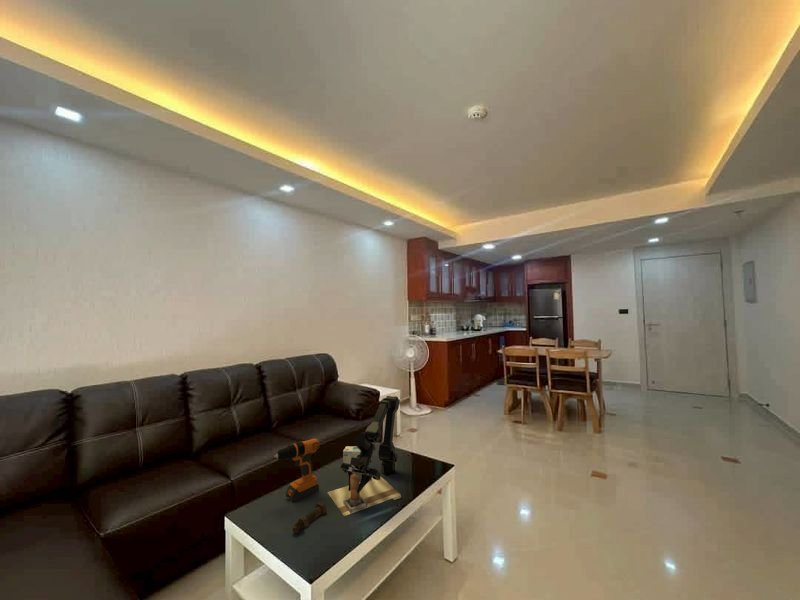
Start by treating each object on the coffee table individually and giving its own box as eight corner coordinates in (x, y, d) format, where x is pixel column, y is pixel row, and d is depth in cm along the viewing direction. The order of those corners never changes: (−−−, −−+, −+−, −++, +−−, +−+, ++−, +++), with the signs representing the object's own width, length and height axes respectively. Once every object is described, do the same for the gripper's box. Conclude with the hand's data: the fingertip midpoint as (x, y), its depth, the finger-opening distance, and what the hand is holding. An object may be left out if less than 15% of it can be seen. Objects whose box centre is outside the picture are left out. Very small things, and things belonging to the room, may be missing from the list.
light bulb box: (364, 465, 183) (364, 446, 183) (362, 471, 176) (362, 451, 176) (346, 464, 184) (345, 445, 184) (342, 470, 177) (342, 450, 177)
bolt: (293, 539, 128) (321, 516, 141) (300, 536, 126) (328, 514, 138) (287, 523, 129) (316, 502, 142) (295, 521, 127) (323, 500, 140)
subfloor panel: (379, 477, 169) (379, 472, 169) (401, 497, 151) (400, 491, 151) (327, 494, 154) (327, 489, 154) (344, 519, 136) (344, 512, 136)
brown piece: (355, 499, 147) (355, 472, 147) (362, 503, 144) (361, 475, 145) (348, 504, 144) (347, 476, 144) (354, 507, 141) (354, 479, 141)
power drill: (279, 511, 142) (278, 453, 143) (272, 503, 148) (271, 448, 148) (322, 491, 158) (322, 439, 158) (314, 485, 163) (314, 434, 163)
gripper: (341, 445, 152) (327, 481, 141) (377, 451, 144) (365, 489, 134) (351, 455, 159) (338, 489, 149) (385, 461, 151) (374, 498, 141)
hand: (353, 491), depth 143 cm, fingers closed on brown piece, 4 cm apart
